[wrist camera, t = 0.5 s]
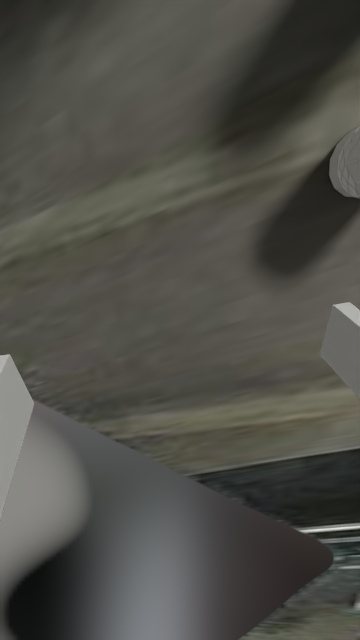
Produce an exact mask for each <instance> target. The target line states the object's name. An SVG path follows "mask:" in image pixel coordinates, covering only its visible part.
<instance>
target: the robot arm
mask: <svg viewBox="0 0 360 640" xmlns="http://www.w3.org/2000/svg"><path fill="white" fill-rule="evenodd" d="M320 355H321V356H322V357H323V359H324V360H325V361H326V362H327V363H328V364H329V365H330V366H331V368H332V369H333V370H334V371H335V372H336V373H337V374H338V375H339V377H340V378H341V379H342V380H343V381H344V382H345V383H346V384H347V385H348V387H349V388H350V389H351V390H352V391H353V392H354V393H355V394H356V396H357V397H358V398H359V399H360V310H359V309H358V308H356V307H355V306H354V305H352V304H351V303H350V302H349V303H342V304H336V305H333V307H332V311H331V314H330V318H329V322H328V325H327V329H326V333H325V336H324V340H323V344H322V347H321V351H320ZM33 406H34V402H33V400H32V398H31V396H30V394H29V392H28V390H27V388H26V386H25V384H24V382H23V380H22V378H21V376H20V374H19V372H18V370H17V368H16V366H15V364H14V362H13V360H12V358H11V356H10V354H9V355H2V356H0V519H1V516H2V512H3V509H4V505H5V502H6V498H7V495H8V492H9V488H10V485H11V481H12V478H13V475H14V471H15V468H16V464H17V461H18V457H19V454H20V451H21V447H22V444H23V441H24V437H25V433H26V430H27V427H28V423H29V420H30V417H31V413H32V410H33Z"/></svg>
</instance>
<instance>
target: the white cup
mask: <svg viewBox="0 0 360 640" xmlns="http://www.w3.org/2000/svg"><path fill="white" fill-rule="evenodd" d="M329 177H330V179H331V182H332V184H333V187H334V189H336V190H337V191H338V192H340V193H341V194H342V195H344V196H345V197H353V198H360V126H359V127H357V128H355V129H353V130H351V131H350V132H349V133H348V134H347V135H346V136H345V137H344V138H343V139H342V140H340V141H339V142H338V143H337V145H336V147H335V150H334V152H333V154H332V156H331V158H330V165H329Z"/></svg>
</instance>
